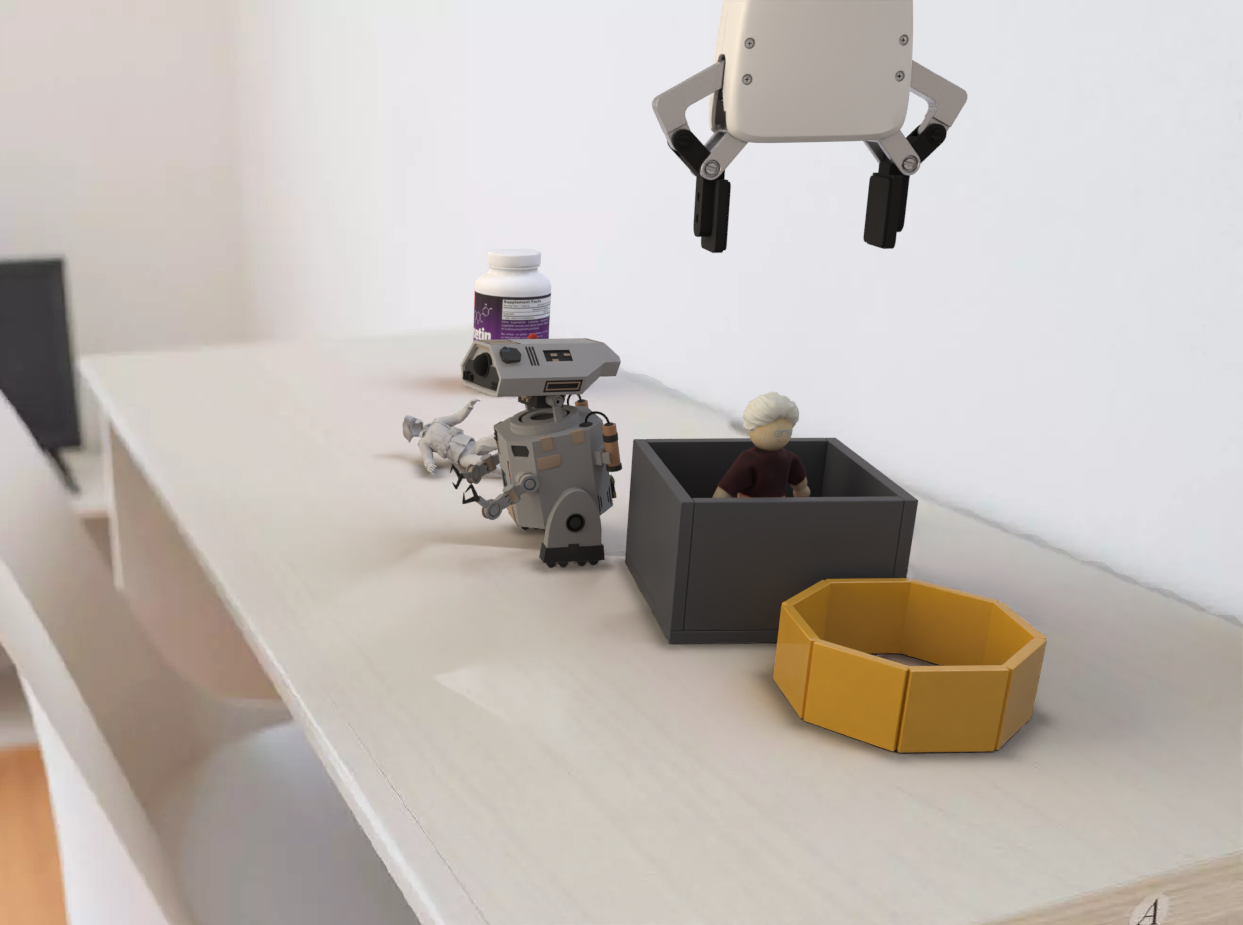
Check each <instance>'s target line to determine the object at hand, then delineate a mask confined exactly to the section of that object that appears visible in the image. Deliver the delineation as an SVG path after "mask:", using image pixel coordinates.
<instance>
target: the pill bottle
mask: <svg viewBox="0 0 1243 925" xmlns="http://www.w3.org/2000/svg"><path fill="white" fill-rule="evenodd" d="M486 260H487V261H486V263H487V264H486V265H487V266H488V268H489V269H488V271H486V272H484V273H482V274H480V275H479V277H478V278H477V279H476V280H475V283H474V294H473V296H474V298H473V301H474V302H473V334H472V336H473V338H472V342H473V341H474V340H498V339H528V336H529V335H530V334H531V333H535V334H536V335H537V339H550V319H551V300H552V284H551V281H550V280H549V279H548V277H547V276H546V275H544V274H542V273H541V272H539V268H540V267H541V263H542V252H541V251H539V250H535V249H528V248H496V249H491V250H488V251H487V259H486Z"/></svg>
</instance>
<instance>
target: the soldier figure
mask: <svg viewBox="0 0 1243 925" xmlns="http://www.w3.org/2000/svg"><path fill="white" fill-rule="evenodd" d="M477 402H481V400H480V399H479V398H472V399H470V401H468V403H466V405H464V407H463V408H462V409H460V410H458V411H457V412H456V413H453V414H451V415H445V416H439V417H435V418H434V419H433V420H432V421H431V422H428V423H426V424H424V421H423V420H422V419H420V418H417V417H415V416H412V415H409V414H406V415H405V416H404V418H403V421H402V435H403V437H404V439H406V440H407V442H408V444H410V443H411V441H412V439H413V438H414V437H415V438H419V437H420V439H419V441H418V442H417V447H418V449H419V452H420V454H421V456H422V460H423V465H424V467H425V469H426V471H427V472H428V473H429V474H431V475H433V476H435V473H434V471H435V470H436V468H437V467H438V466H437V465H436V464H435V458H434V456H435V455H434V453H435V454H437V455H438V456H440V457H441V458H442V459H443V460H445V459H448V460H449V461H450V462H452V463H454V464H456V465H457V466H458V467H460V468H465V469H466V468H467V466H468V465H470V464H472V465H476V464H477V463H478V462H482V461H481V459H480V458H481V457H482V456H483V455H485V454H491V452H494V451H498V448H497V444H496V440H495V439H494V436H495V435H494V434H490V435H487V436H484V437H481V438H479V439H478V440H475V438H473V437H472V436H469V435H468V434H464V429H462V428H459V427H456V426H457V425H459V424H461V423H463V422H464V421H465V420H466V419H467V418H468V417H469V415H470V414H471V413H472V411H473V410H474V407H475V405H476V404H477ZM495 437H496V436H495ZM496 467H497V468H496V470H494V471H492V472H490V473H487V474H486V475H489V474H497V475H502V474H501V468H500V464H498V465H496Z"/></svg>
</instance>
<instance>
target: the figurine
mask: <svg viewBox="0 0 1243 925" xmlns="http://www.w3.org/2000/svg"><path fill="white" fill-rule="evenodd" d="M621 363H622V361H621V357H620V356H619V355H618V354H617V353H616V352H615V351H614V350H613V349H612V348H611V347H610V346H608V344H607V343H605V342H603V341H599V340H595V339H591V338H588V337H584V338H583V337H582V338H580V337H579V338H577V337H575V338H549V339H537V335H536V334H535V333H531V334H530V335H529V336H528V339H498V340H474V341H473V340H472V343H471V345H470V346H469V349H468V350H467V352H466V354H465V356H464V358H463V359H462V361H461V363H460V373H461V384H462V385H464V386H466V387H468V388H471V389H473V390H475V391H478V392H480V393H483V394H487V395H488V396H489V395H490V396H492V397H495V398H511V397H512V398H513V397H515V398H516V397H517V402H518V403H520V404H523V405H524V408H525V409H524V410H521V411H519V412H516V413H514V415H512V416H510V417H507V418H506V419H504V420H503V421H501V420H500V421H499V422H497V423H495V424H493V435H495V436H496V437H495V436H494V439H495V440H496V444H497V448H498V450H497V452H496V453H494V454H491V453H488V454H485V455H483V456H482V457H481V458H480V459H481V461H482V462H478V463H477V464H476V465H472V464H470V465H468V466H467V468H465V471H462V472H460V471H459V469H458V468H457V467H456V465H455V463H451V465H450V470H449V474H451V473H452V472H453V471H454V473H455V475H456V477H457V480H456V483H454V482H451V484H452V487H453V488H454V489H455V490H458V488H459V487H460V484H461V482H462V481H463V479H464V480H466V482H467V483H468V484H469V485H468V487H467V488H466V490H464V491H463V493H462V501H461V503H462V504H463V505H466V504H470V503H474V502H475V503H477V504H478V505H479V506H481V516H482V517H483V518H484V519H487V520H491V521H495V520H498V518H499V517H500V516H501V515H502V512H503V510H505V509H506V510H507V513H508V515H509V516H510V517H511V519H512V521H513V522H514V523H515V525H516V526H517V527H520V528H521V530H523V531H527V530H529V529H530V528H531V529H533V530H536V531H537V530H539V529H543V530H544V538H543V542H541V544H540V549H539V555H538V558H539V559H540V561H541V562H542V564H545V565H546V566H547V567H548V568H549V569H553V568H555V567H556V566H557V564H558V566H559V567H560V568H566V567H567V566H568V565H569V563H576V564H577V566H579V567H585V566H586V565H587V563H588V564H589V565H590V566H592V567H595V566H597V565H599V564H598V563H599V562H600V561H606V556H605V555H606V554H605V546H604V544H603V542H602V541H603V538H602V537H603V536H602V530H603V529H602V519H601V516H602V515H603V514H605V513H606V512H607V511H608V510H610V509H612V507H613V506H614V502H613V501H614V500H613V499H617V492H616V487H615V486H616V480H615V478H614V476H613V475H612V474H610V473H616V472H620V471H622V470H623V462H621V455H620V446H619V432H618V430H617V423H615V422H612V421H610V419H609V417H608V416H607V415H606V414H605V413H603V412H601V411H598V410H597V411H596V410H594V411H593V410H592V409H591V408H589V401H588V399H584V398H582V396H581V395H583V394H584V393H585V392H586V391H587V390H588V389H589V388H590V387H591V386H592V385H593V384H594V383H595V382H596V381H597V380H598V379H599V378H601V377H602V378H605V377H617V374H618V372H619V368H620V366H621ZM573 395H576V396H577V397H578V399H577V400H576V401H574V405H572V404H570V399H571V397H572V396H573ZM566 396H567V397H566ZM565 402H566V404H565ZM598 415H600V416H602V417H603V418H604V419H605V420H606V422H605V423H604V420H603V419H602V418H601V417H600V416H598ZM496 465H500V468H501V474H500V475H501V480H502V486H503V488H502V493H499V494H498V495H497V496H496V497H495V498H489V499H487V500H486V498H484V497H483V496H481V495H479V494H478V492H477V490H476V488H475V487H474V486H475V485H478V484H479V483H480V482H481V480H482V477H483V476H485V475H488V474H487V473H489V474H491V473H490V472H492V471H494V470H496V468H497V467H496ZM473 484H474V485H473ZM470 490H471V493H472V496H470V497H469V498H467V499H466V494H465V493H467V492H469V491H470Z"/></svg>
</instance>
